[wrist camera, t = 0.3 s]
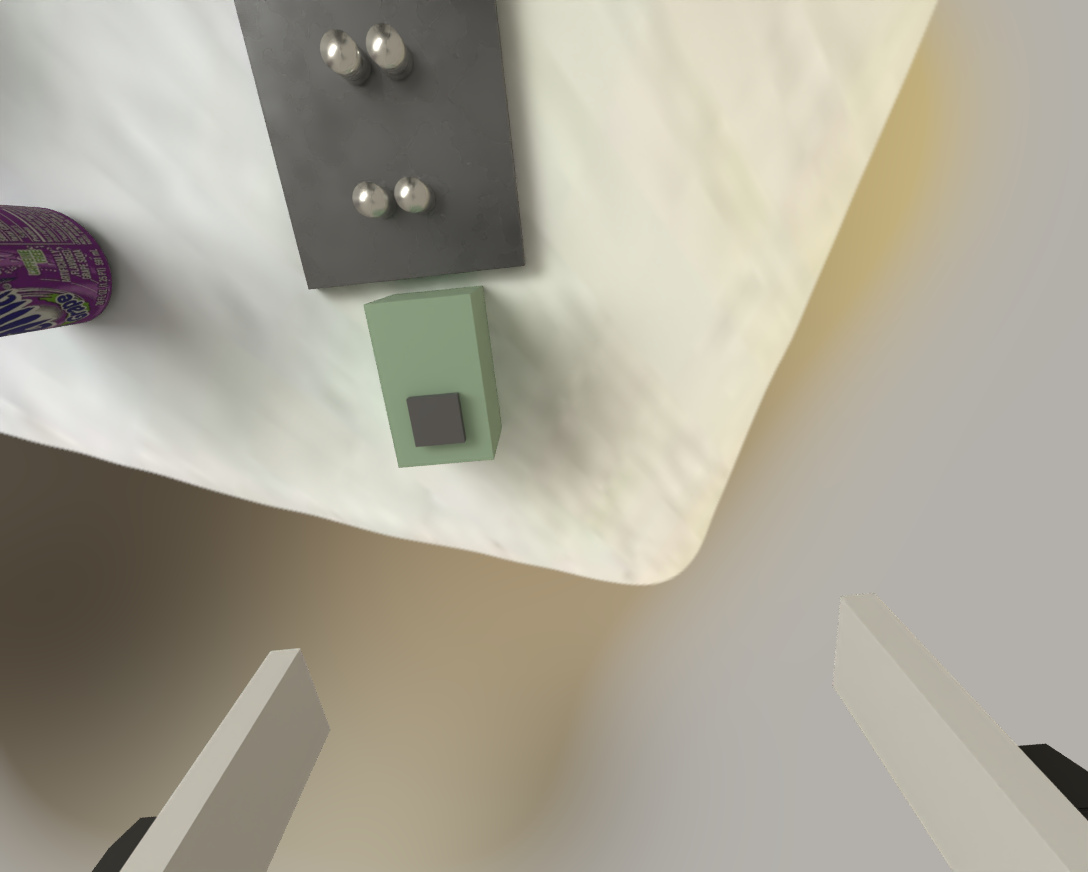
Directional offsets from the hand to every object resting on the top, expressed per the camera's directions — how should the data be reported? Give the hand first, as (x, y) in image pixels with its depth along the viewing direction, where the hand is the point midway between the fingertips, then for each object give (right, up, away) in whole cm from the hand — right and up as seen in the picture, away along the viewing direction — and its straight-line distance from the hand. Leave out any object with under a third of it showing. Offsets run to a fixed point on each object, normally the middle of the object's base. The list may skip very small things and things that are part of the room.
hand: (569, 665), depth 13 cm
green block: (-7, +11, +23) cm, 27 cm away
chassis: (-10, +24, +18) cm, 31 cm away
